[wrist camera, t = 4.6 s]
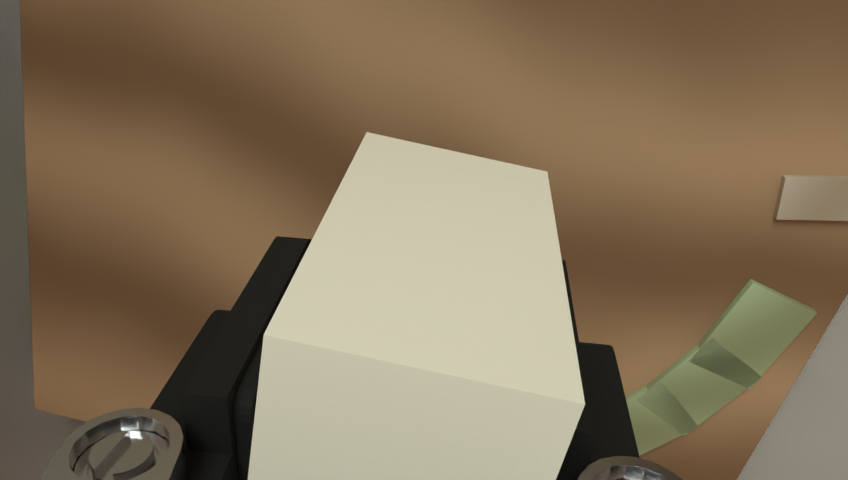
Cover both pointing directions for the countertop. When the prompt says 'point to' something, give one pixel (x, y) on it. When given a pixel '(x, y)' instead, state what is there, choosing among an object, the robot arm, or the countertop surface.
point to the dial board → (462, 132)
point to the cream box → (422, 329)
